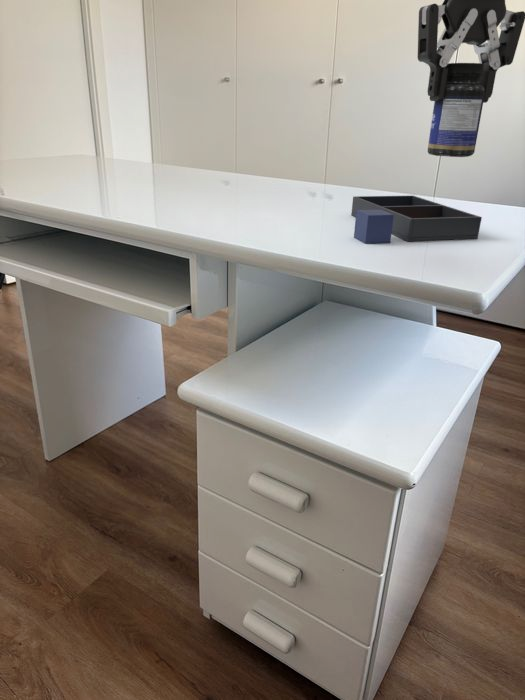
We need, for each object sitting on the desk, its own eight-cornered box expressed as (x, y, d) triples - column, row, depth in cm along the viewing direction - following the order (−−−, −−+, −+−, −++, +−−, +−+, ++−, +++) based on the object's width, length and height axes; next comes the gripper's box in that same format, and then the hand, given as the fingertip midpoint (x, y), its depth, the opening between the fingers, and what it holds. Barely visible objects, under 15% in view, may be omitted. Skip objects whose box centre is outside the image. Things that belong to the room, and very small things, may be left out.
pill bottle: (431, 152, 77) (444, 65, 72) (476, 155, 74) (492, 65, 69) (422, 155, 72) (435, 62, 67) (470, 158, 69) (487, 61, 64)
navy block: (377, 236, 89) (381, 209, 87) (390, 242, 85) (394, 214, 84) (353, 237, 88) (356, 210, 86) (365, 243, 84) (368, 215, 82)
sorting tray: (410, 213, 109) (413, 195, 107) (477, 238, 90) (482, 217, 88) (351, 215, 106) (352, 196, 104) (407, 241, 86) (410, 219, 85)
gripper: (449, -71, 58) (426, 100, 65) (557, -57, 62) (524, 103, 69) (413, -54, 64) (395, 100, 71) (513, -42, 68) (486, 103, 75)
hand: (458, 101), depth 70 cm, fingers closed on pill bottle, 6 cm apart
